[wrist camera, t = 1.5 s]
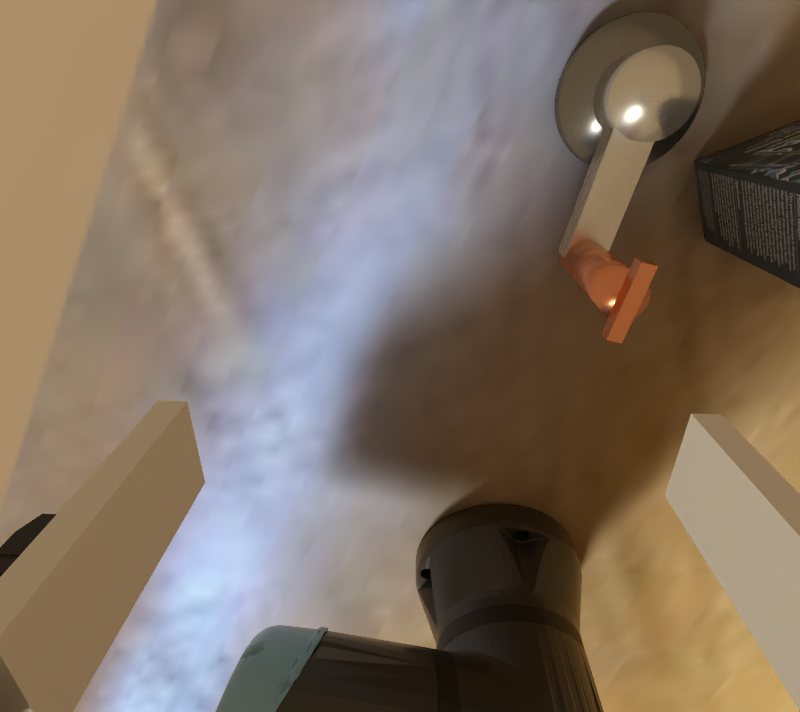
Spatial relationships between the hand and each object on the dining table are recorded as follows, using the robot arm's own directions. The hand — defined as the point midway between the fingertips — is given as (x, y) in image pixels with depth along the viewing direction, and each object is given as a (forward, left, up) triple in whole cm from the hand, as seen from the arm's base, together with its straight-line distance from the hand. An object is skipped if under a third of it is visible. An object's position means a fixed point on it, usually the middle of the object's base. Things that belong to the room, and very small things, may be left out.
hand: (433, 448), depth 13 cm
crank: (-2, -11, -21) cm, 24 cm away
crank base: (+1, -14, -23) cm, 27 cm away
